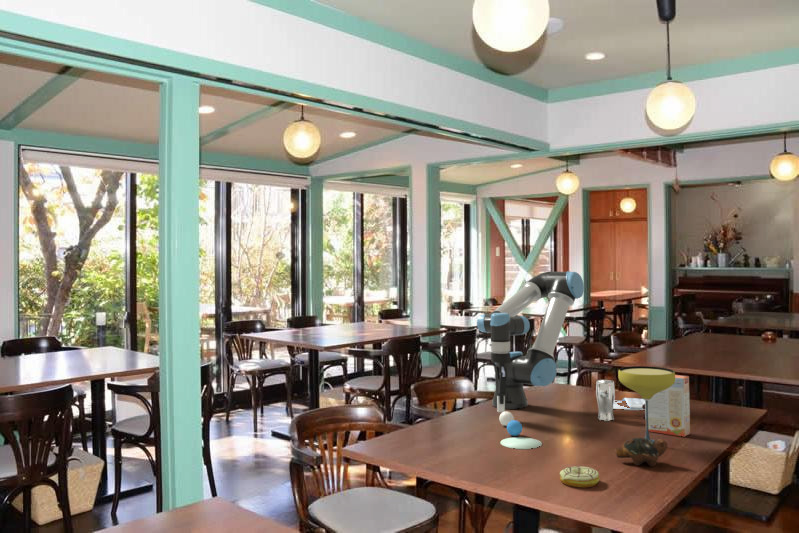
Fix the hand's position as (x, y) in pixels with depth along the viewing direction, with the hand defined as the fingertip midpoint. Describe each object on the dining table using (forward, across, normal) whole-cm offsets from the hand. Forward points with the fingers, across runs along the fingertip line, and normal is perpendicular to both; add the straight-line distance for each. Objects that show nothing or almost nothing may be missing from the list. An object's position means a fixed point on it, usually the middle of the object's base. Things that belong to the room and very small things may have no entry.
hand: (501, 411), depth 258 cm
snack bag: (+3, -19, +58) cm, 62 cm away
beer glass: (+3, +4, +41) cm, 41 cm away
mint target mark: (+4, +33, 0) cm, 33 cm away
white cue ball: (+1, +9, 0) cm, 9 cm away
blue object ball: (+1, +23, 0) cm, 23 cm away
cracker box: (+3, +26, +55) cm, 61 cm away
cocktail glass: (+3, +39, +42) cm, 57 cm away
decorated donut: (+4, +74, +8) cm, 74 cm away
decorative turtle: (+4, +59, +32) cm, 67 cm away
